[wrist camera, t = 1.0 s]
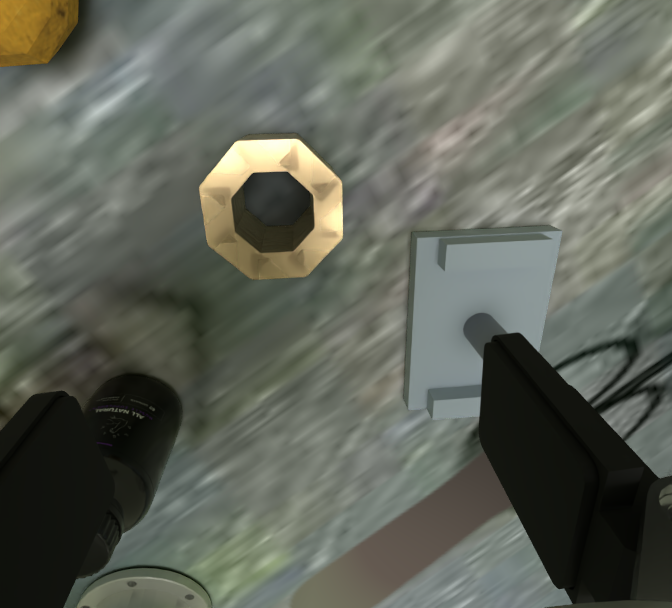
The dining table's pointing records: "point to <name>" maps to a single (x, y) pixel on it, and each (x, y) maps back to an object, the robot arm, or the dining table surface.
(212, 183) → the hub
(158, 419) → the supplement bottle
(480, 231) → the shaft stand
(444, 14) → the dining table surface
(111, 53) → the dining table surface
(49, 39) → the potato
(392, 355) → the dining table surface
